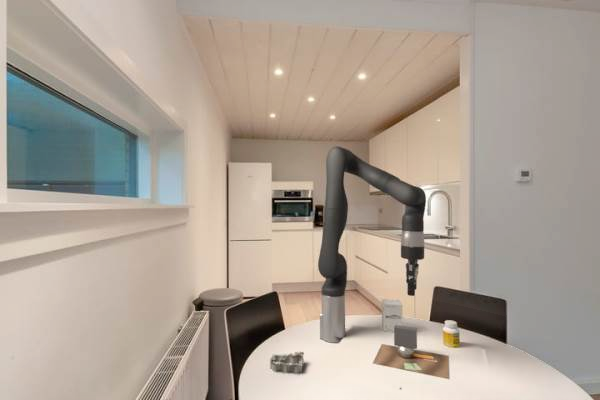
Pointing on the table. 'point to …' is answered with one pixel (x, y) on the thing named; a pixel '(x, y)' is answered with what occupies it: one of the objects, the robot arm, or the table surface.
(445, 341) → the supplement bottle
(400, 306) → the supplement box
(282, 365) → the egg carton
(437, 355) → the brown flat board
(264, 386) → the table surface
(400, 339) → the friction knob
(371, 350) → the table surface
